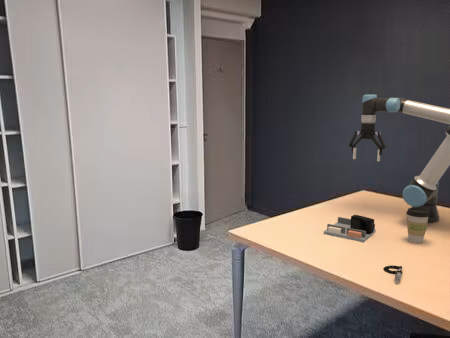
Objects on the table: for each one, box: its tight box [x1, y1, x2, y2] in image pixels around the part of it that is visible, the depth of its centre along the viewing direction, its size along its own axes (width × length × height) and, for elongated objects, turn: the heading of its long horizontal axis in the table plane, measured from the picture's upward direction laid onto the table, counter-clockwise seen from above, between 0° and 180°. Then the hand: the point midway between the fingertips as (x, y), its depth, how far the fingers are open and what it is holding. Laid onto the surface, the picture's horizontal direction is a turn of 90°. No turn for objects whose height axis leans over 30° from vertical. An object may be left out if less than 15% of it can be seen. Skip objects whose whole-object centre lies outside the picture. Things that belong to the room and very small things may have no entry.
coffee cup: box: [406, 207, 430, 244], centre depth 180 cm, size 10×10×15 cm
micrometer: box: [382, 265, 403, 285], centre depth 148 cm, size 15×7×2 cm, turn 150°
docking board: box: [323, 216, 377, 243], centre depth 193 cm, size 20×18×4 cm
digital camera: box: [350, 214, 375, 234], centre depth 192 cm, size 10×5×7 cm, turn 41°
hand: (366, 160), depth 219 cm, fingers open, 13 cm apart
